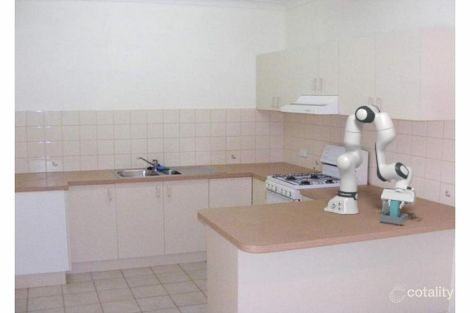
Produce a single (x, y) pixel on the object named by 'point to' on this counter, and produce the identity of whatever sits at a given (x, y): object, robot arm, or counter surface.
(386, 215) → the bin
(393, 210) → the strut
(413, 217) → the brown wooden lid
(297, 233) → the counter surface
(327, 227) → the counter surface
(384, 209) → the skincare box
